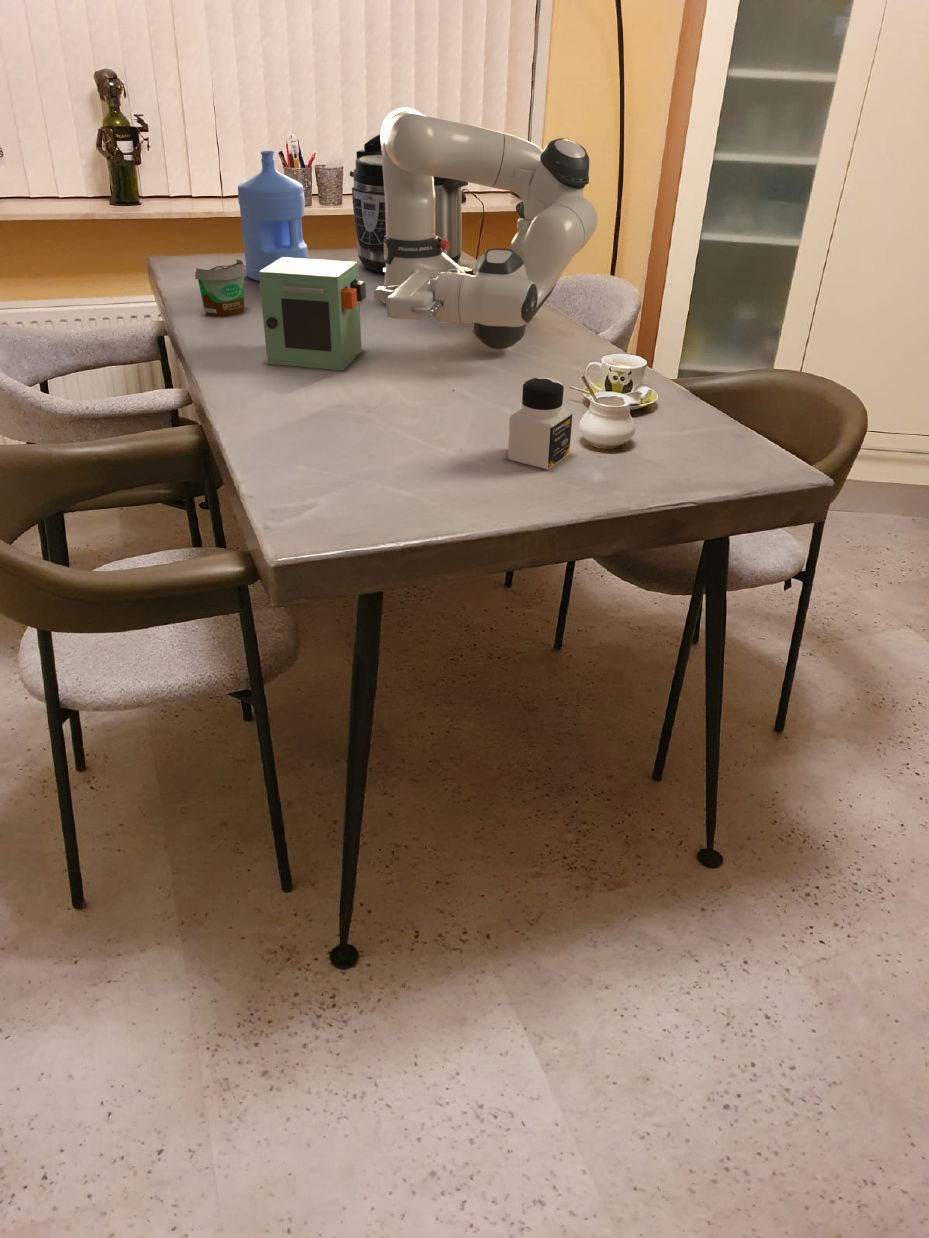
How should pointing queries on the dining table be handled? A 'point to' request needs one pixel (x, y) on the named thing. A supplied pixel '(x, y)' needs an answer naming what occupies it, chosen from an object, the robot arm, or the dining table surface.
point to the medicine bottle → (540, 425)
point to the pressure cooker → (372, 208)
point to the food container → (222, 289)
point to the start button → (349, 298)
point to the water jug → (271, 217)
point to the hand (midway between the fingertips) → (376, 292)
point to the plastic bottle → (520, 237)
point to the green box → (309, 313)
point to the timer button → (359, 289)
